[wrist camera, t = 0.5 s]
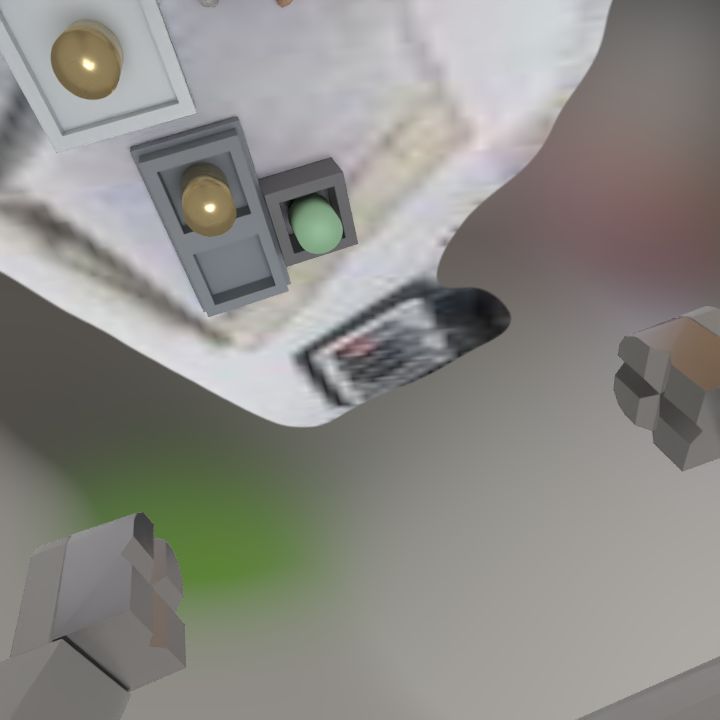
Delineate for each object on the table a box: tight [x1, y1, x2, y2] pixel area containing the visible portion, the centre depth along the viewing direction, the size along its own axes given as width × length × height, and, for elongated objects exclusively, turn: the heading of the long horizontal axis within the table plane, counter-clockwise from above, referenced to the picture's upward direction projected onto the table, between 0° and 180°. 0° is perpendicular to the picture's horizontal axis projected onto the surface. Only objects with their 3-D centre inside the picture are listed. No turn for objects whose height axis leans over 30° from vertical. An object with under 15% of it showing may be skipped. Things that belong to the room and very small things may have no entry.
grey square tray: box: [0, 0, 197, 153], centre depth 39 cm, size 11×11×2 cm
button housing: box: [258, 158, 358, 266], centre depth 50 cm, size 7×7×4 cm
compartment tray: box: [130, 117, 291, 317], centre depth 49 cm, size 16×9×3 cm, turn 11°
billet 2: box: [180, 162, 236, 237], centre depth 45 cm, size 4×4×6 cm
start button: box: [288, 193, 343, 254], centre depth 48 cm, size 4×4×4 cm
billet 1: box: [50, 19, 123, 100], centre depth 37 cm, size 4×4×6 cm
